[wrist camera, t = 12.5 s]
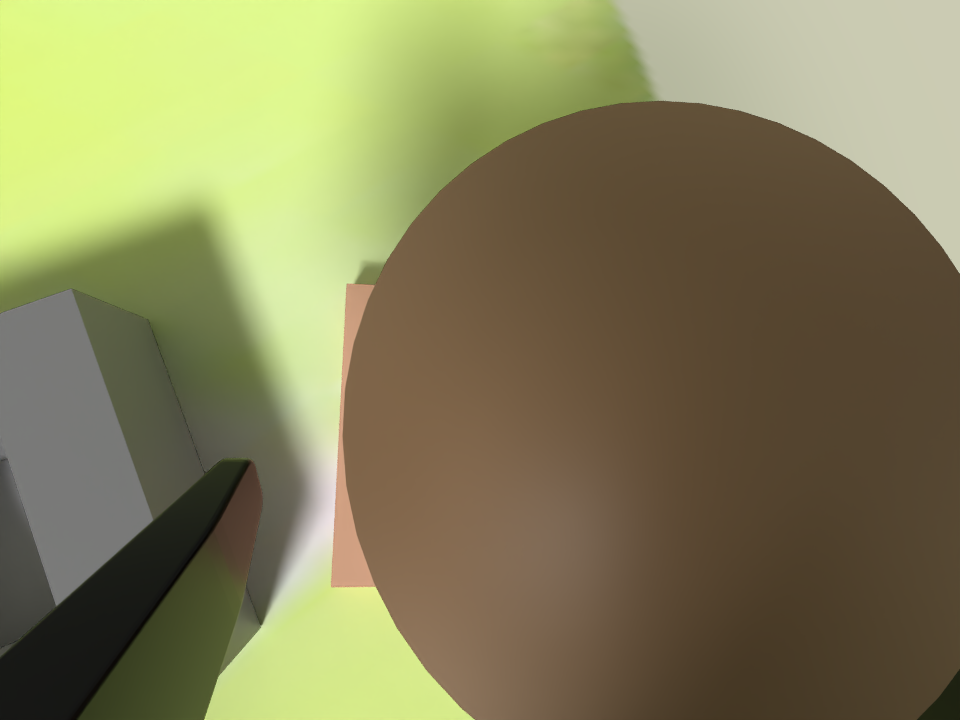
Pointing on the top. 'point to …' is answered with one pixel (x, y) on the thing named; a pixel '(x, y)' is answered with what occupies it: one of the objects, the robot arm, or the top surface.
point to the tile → (346, 546)
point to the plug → (664, 429)
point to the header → (92, 436)
